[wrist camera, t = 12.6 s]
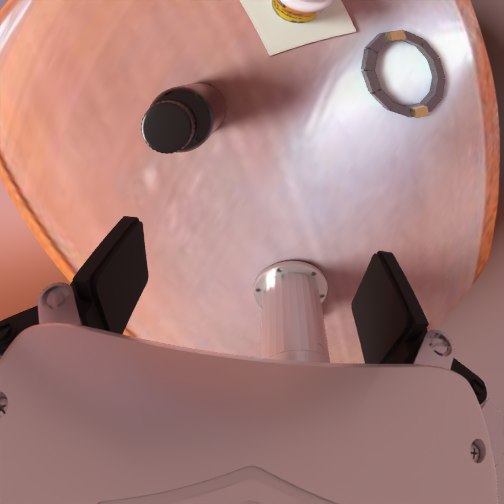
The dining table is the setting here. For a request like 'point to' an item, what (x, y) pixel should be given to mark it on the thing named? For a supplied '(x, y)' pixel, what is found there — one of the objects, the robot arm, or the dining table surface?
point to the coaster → (296, 25)
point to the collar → (373, 84)
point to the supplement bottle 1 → (183, 118)
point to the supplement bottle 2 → (299, 9)
